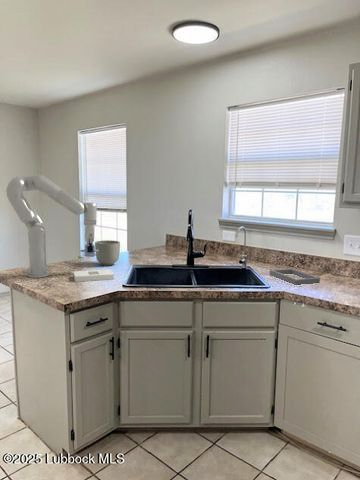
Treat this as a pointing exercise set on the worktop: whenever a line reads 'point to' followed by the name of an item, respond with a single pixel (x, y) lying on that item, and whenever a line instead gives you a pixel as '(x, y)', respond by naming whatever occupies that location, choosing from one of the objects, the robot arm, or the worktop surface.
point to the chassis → (93, 275)
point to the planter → (107, 252)
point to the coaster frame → (308, 278)
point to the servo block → (89, 254)
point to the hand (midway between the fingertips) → (89, 251)
